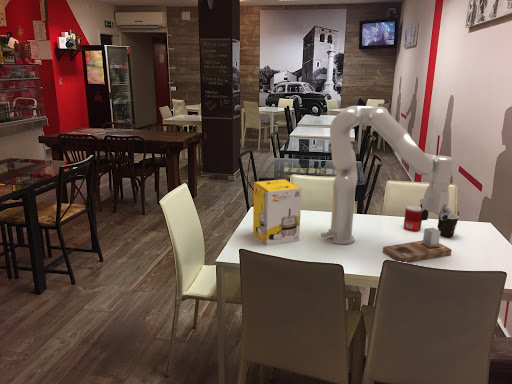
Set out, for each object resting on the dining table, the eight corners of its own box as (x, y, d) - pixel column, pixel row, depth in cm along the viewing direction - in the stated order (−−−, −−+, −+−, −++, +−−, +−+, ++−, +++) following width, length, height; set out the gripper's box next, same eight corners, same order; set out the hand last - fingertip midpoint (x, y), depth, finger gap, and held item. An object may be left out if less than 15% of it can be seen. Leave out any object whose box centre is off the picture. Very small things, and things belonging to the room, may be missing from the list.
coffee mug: (446, 240, 193) (450, 220, 190) (431, 233, 200) (434, 214, 198) (463, 235, 198) (467, 216, 195) (448, 229, 206) (451, 210, 203)
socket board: (401, 264, 169) (402, 257, 168) (382, 252, 180) (383, 246, 179) (450, 254, 178) (451, 248, 177) (430, 244, 188) (431, 238, 188)
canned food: (422, 231, 203) (425, 210, 199) (406, 231, 203) (409, 210, 200) (417, 226, 210) (420, 205, 207) (401, 225, 210) (403, 205, 207)
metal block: (429, 254, 178) (432, 232, 175) (421, 249, 182) (424, 228, 179) (437, 252, 180) (440, 231, 177) (429, 248, 184) (432, 227, 181)
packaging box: (266, 245, 184) (267, 191, 177) (253, 232, 199) (253, 182, 192) (299, 240, 190) (301, 188, 183) (283, 228, 205) (285, 179, 197)
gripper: (417, 180, 179) (411, 217, 184) (447, 192, 164) (440, 232, 169) (430, 179, 182) (424, 216, 187) (462, 191, 166) (454, 230, 171)
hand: (432, 224), depth 178 cm, fingers open, 9 cm apart
